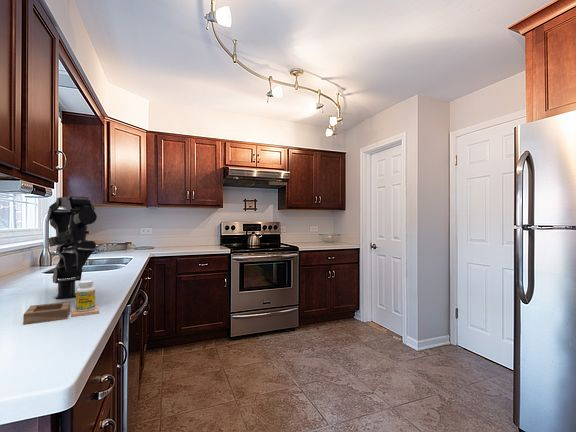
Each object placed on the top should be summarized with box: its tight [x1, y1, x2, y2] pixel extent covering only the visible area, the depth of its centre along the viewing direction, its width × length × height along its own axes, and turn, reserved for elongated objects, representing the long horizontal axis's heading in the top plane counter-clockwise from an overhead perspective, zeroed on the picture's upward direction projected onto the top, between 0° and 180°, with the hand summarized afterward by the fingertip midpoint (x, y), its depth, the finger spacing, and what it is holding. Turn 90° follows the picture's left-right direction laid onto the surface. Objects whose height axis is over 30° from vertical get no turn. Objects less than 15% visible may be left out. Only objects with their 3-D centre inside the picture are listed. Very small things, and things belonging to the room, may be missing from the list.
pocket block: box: [22, 301, 71, 326], centre depth 98 cm, size 11×11×3 cm
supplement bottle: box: [75, 279, 96, 312], centre depth 104 cm, size 5×5×10 cm
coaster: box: [70, 305, 100, 318], centre depth 104 cm, size 8×8×1 cm
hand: (73, 270), depth 112 cm, fingers open, 9 cm apart
